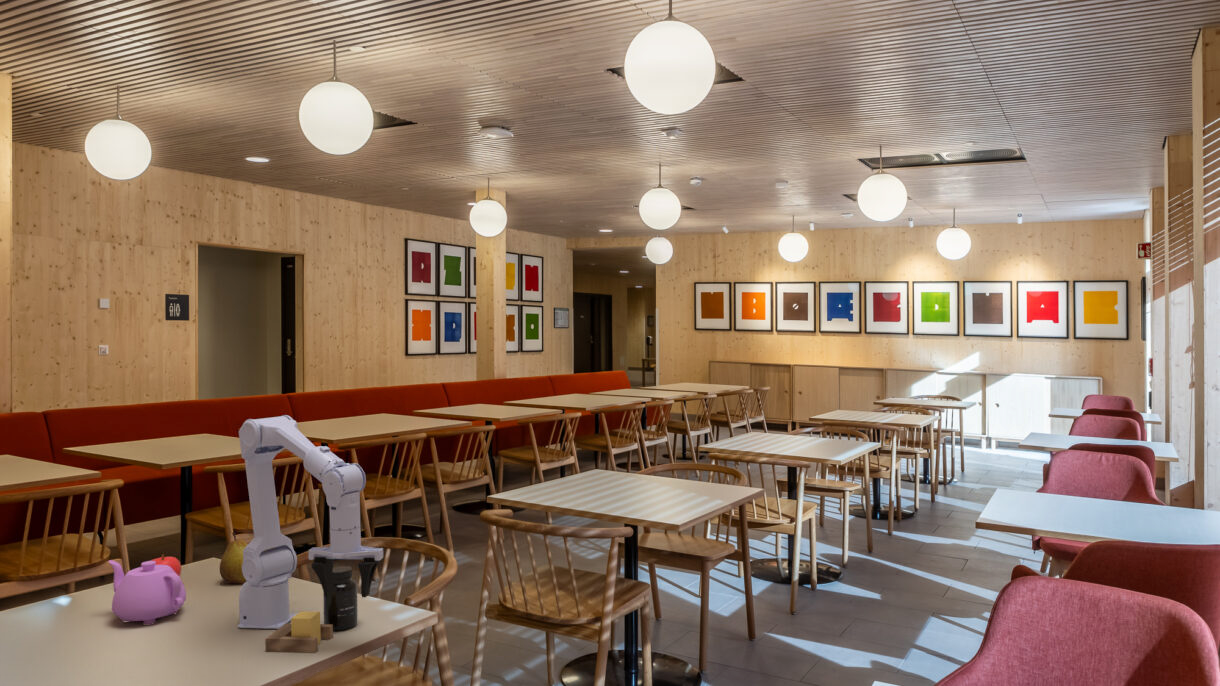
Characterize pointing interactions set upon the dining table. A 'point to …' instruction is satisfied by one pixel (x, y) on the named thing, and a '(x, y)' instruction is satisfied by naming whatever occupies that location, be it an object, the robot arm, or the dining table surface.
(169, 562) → the apple
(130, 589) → the teapot
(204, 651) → the dining table surface
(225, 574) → the fruit
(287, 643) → the wooden u-shaped bracket
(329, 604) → the supplement bottle
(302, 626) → the block
